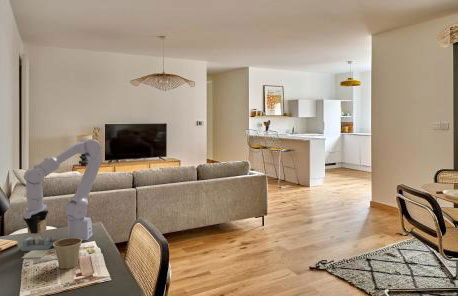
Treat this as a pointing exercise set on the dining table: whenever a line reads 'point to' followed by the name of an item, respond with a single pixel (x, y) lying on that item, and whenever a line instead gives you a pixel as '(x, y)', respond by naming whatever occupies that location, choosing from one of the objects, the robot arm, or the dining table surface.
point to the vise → (37, 243)
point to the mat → (36, 254)
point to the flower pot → (67, 252)
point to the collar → (39, 227)
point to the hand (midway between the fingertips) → (37, 231)
